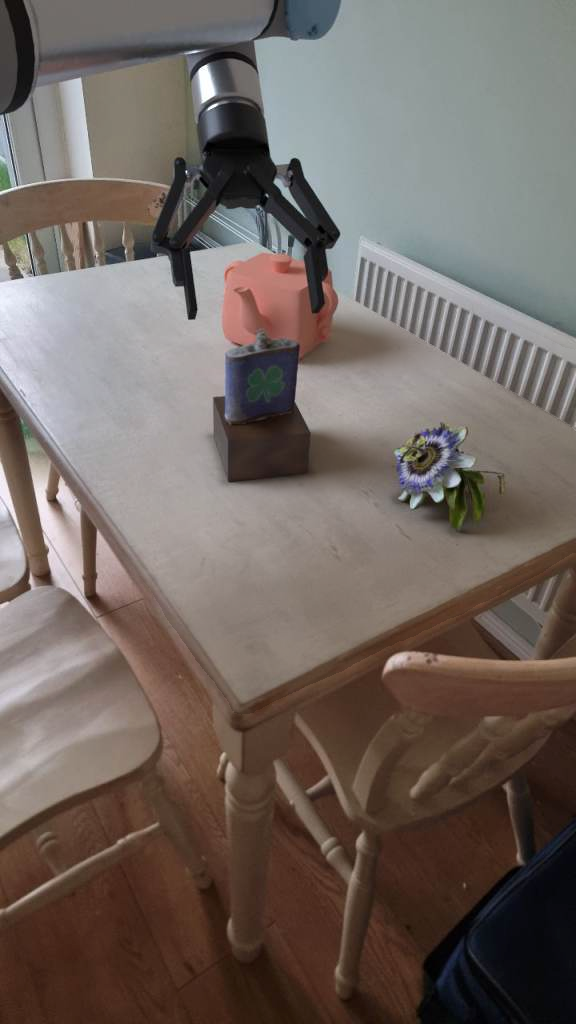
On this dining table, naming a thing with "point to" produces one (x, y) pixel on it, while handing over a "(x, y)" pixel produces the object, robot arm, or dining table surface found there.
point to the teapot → (275, 302)
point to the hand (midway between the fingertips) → (257, 312)
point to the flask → (260, 379)
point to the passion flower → (441, 473)
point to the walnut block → (261, 444)
